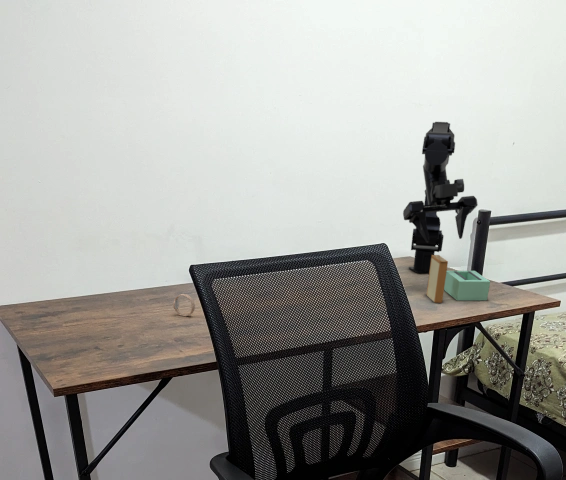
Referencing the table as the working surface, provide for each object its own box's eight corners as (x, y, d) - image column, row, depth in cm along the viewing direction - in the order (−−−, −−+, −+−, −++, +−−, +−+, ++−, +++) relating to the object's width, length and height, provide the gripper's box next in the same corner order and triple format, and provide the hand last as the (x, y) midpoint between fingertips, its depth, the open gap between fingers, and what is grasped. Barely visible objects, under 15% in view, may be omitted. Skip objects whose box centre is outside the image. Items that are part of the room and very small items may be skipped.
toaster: (442, 288, 200) (445, 269, 198) (475, 288, 201) (478, 269, 199) (456, 300, 190) (459, 280, 187) (491, 300, 191) (494, 280, 189)
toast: (426, 295, 194) (431, 254, 189) (433, 295, 194) (439, 254, 189) (434, 302, 188) (440, 261, 182) (442, 302, 188) (448, 261, 182)
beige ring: (178, 313, 172) (177, 292, 170) (196, 315, 171) (195, 294, 168) (173, 316, 170) (172, 294, 168) (191, 318, 169) (190, 297, 166)
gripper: (411, 170, 181) (420, 232, 181) (481, 164, 183) (490, 224, 183) (399, 189, 192) (407, 247, 192) (465, 183, 194) (473, 240, 194)
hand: (444, 240), depth 190 cm, fingers open, 9 cm apart
